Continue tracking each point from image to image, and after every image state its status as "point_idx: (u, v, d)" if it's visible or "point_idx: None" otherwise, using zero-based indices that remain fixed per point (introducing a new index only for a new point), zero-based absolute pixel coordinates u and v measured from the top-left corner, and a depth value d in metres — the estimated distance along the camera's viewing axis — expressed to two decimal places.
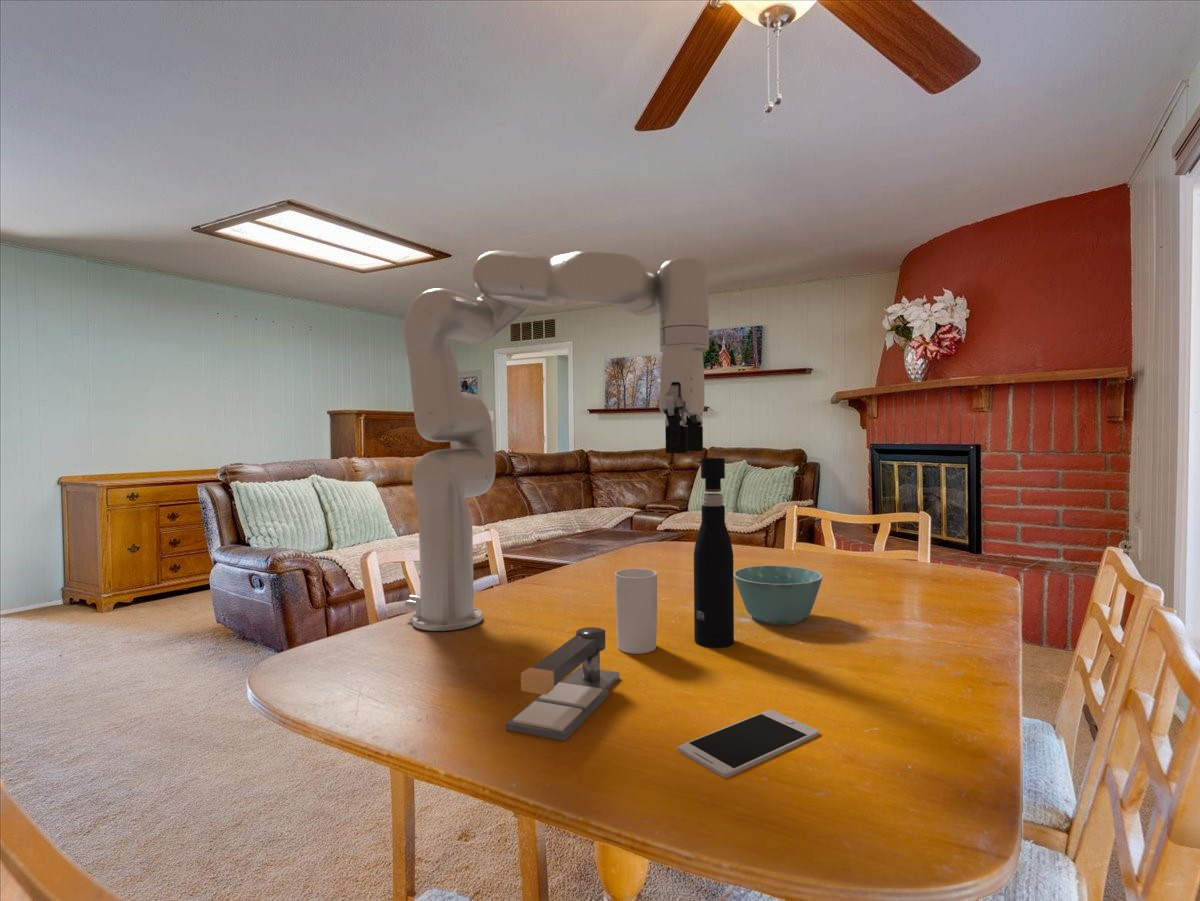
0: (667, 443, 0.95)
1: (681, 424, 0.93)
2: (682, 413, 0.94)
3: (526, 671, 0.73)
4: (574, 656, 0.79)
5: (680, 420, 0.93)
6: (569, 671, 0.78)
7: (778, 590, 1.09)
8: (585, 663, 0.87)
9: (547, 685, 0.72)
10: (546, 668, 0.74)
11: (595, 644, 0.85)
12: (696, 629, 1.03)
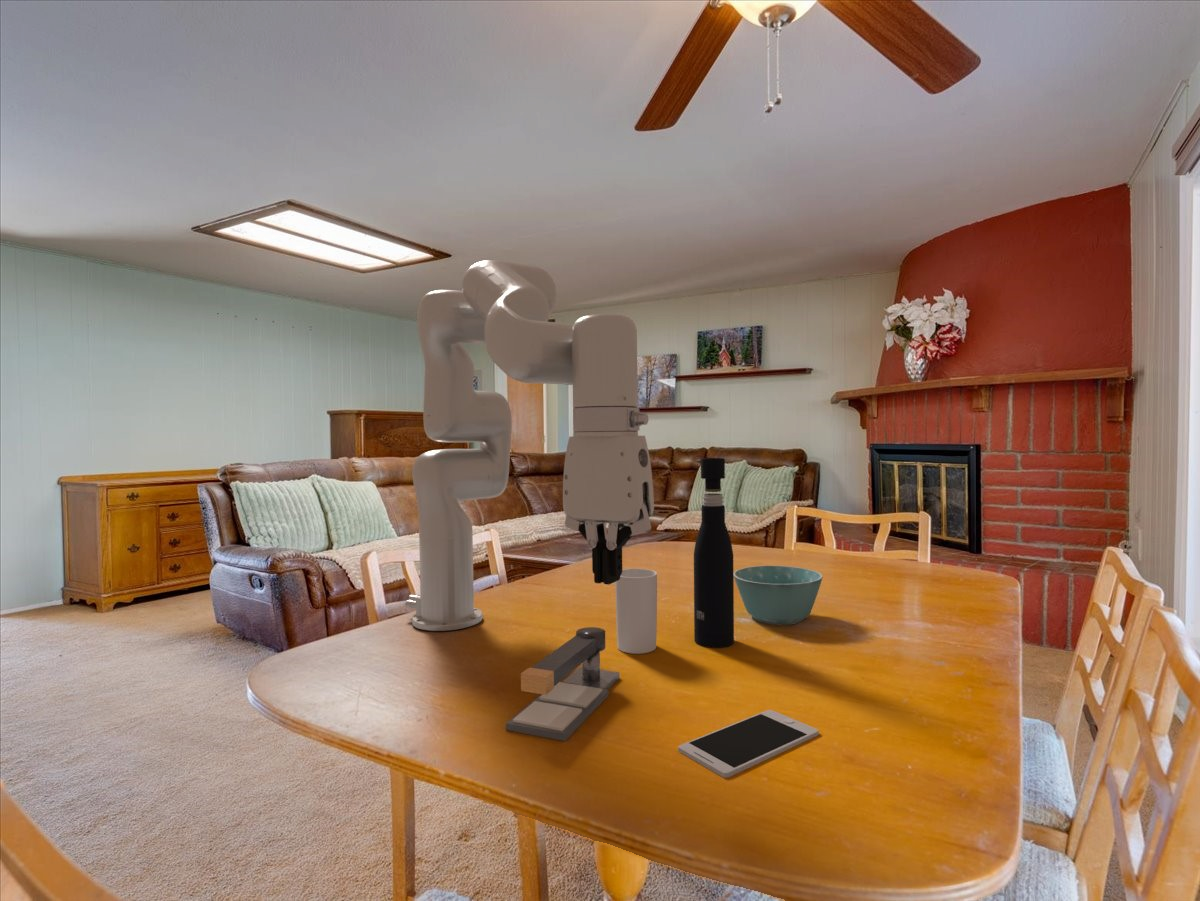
0: None
1: (592, 547, 0.74)
2: None
3: (526, 671, 0.73)
4: (574, 656, 0.79)
5: (589, 540, 0.74)
6: (569, 671, 0.78)
7: (778, 590, 1.09)
8: (585, 663, 0.87)
9: (547, 685, 0.72)
10: (546, 668, 0.74)
11: (595, 644, 0.85)
12: (696, 629, 1.03)
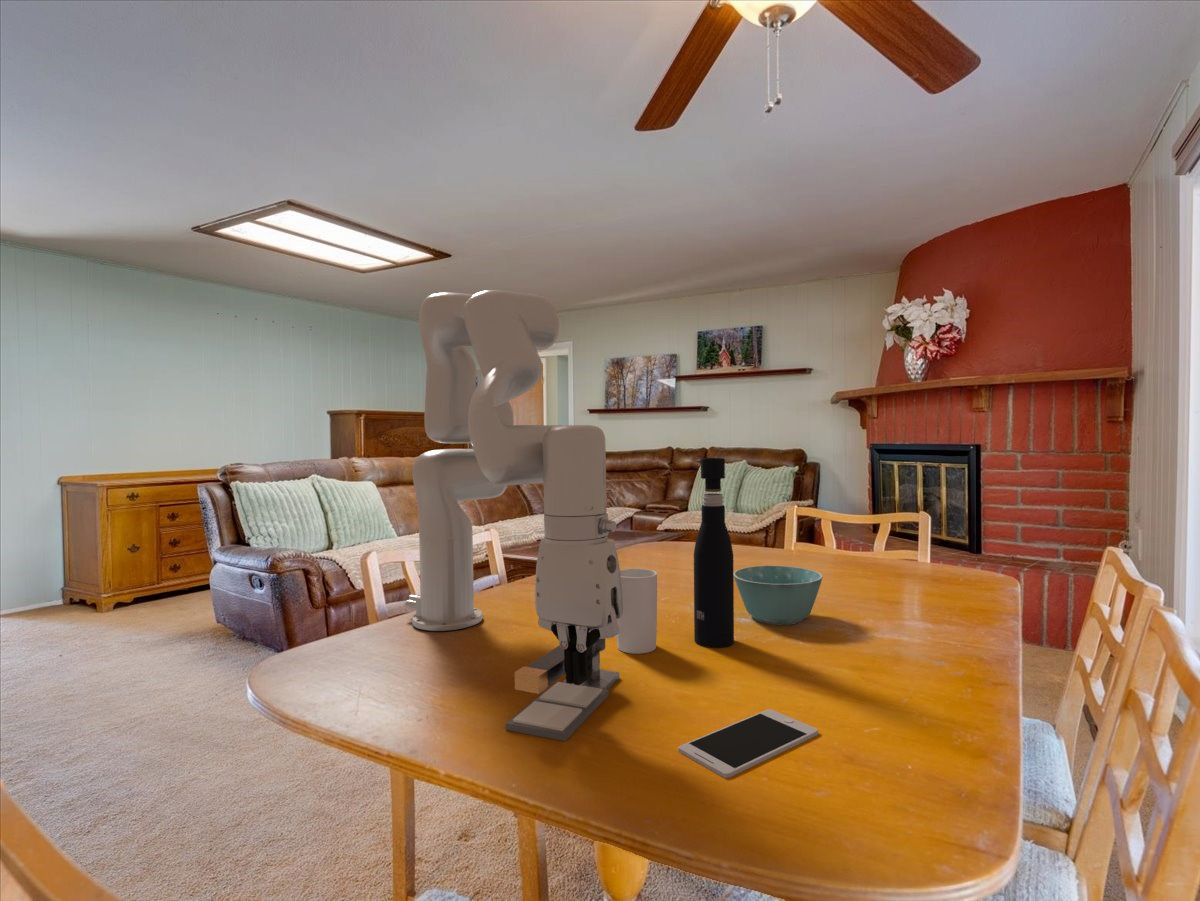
0: None
1: (564, 648, 0.76)
2: None
3: (520, 670, 0.74)
4: None
5: (561, 641, 0.76)
6: None
7: (778, 590, 1.09)
8: None
9: (540, 684, 0.72)
10: (540, 667, 0.75)
11: None
12: (696, 629, 1.03)
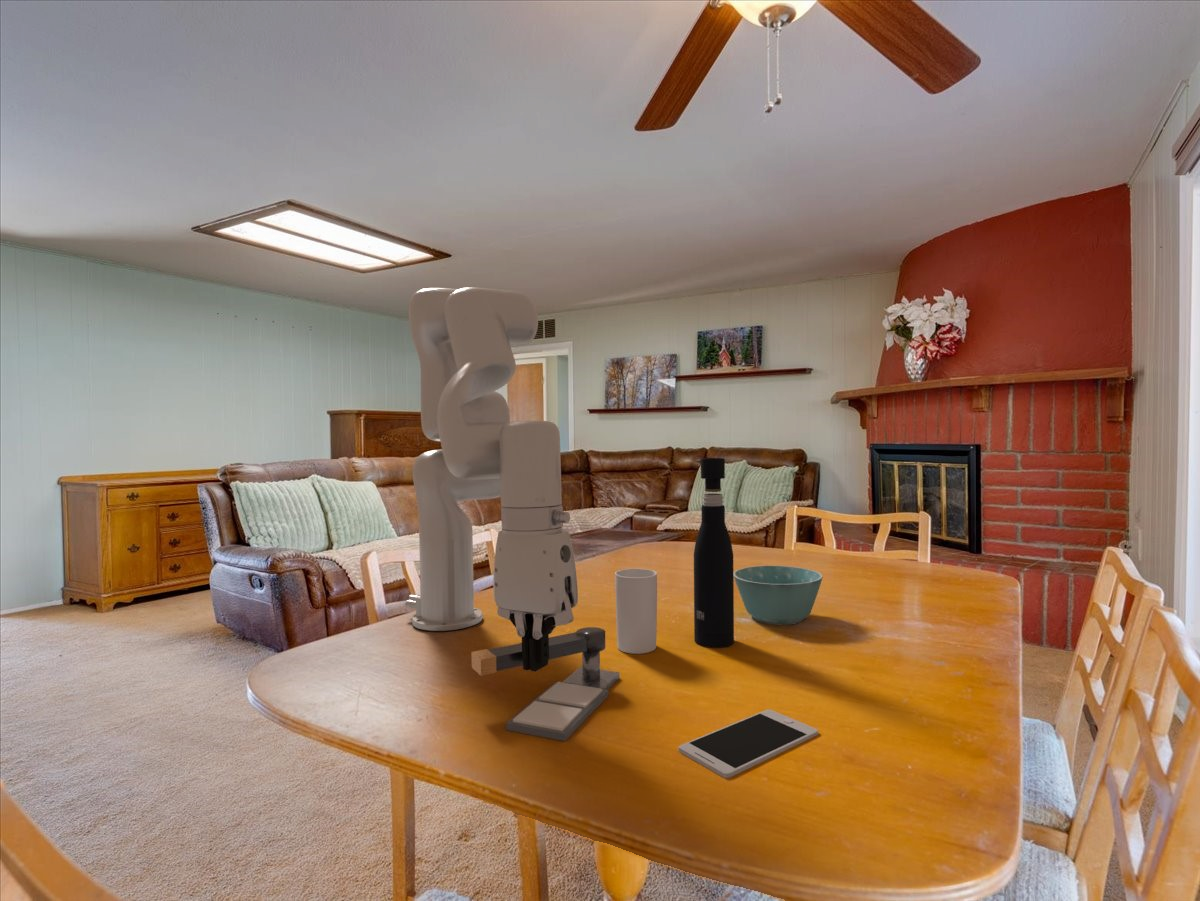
0: None
1: (522, 636, 0.79)
2: None
3: (478, 651, 0.80)
4: None
5: None
6: None
7: (778, 590, 1.09)
8: (585, 663, 0.87)
9: (483, 667, 0.78)
10: (496, 653, 0.80)
11: (584, 644, 0.85)
12: (696, 629, 1.03)
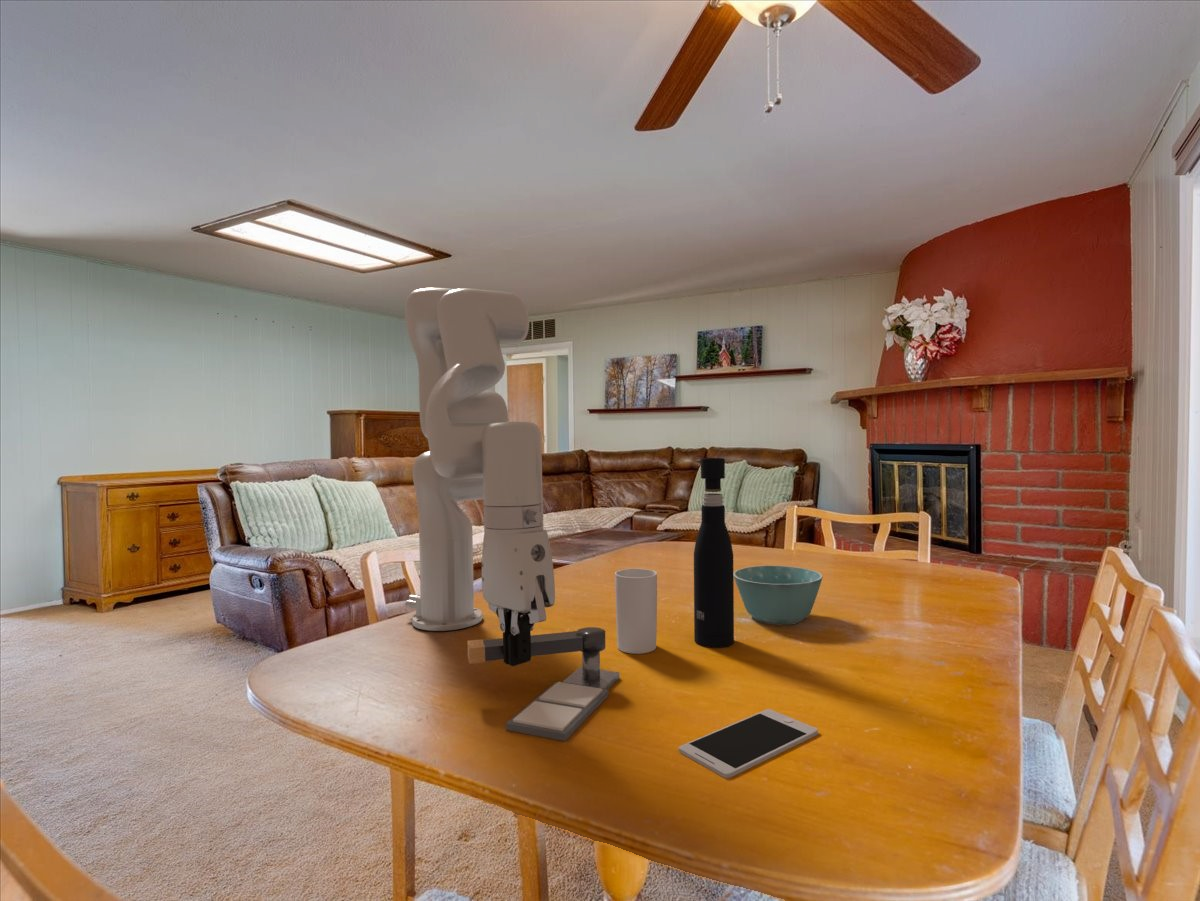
0: None
1: (504, 630, 0.81)
2: None
3: (473, 640, 0.84)
4: None
5: (502, 623, 0.82)
6: None
7: (778, 590, 1.09)
8: (585, 663, 0.87)
9: (471, 655, 0.82)
10: (488, 644, 0.83)
11: (579, 643, 0.85)
12: (696, 629, 1.03)
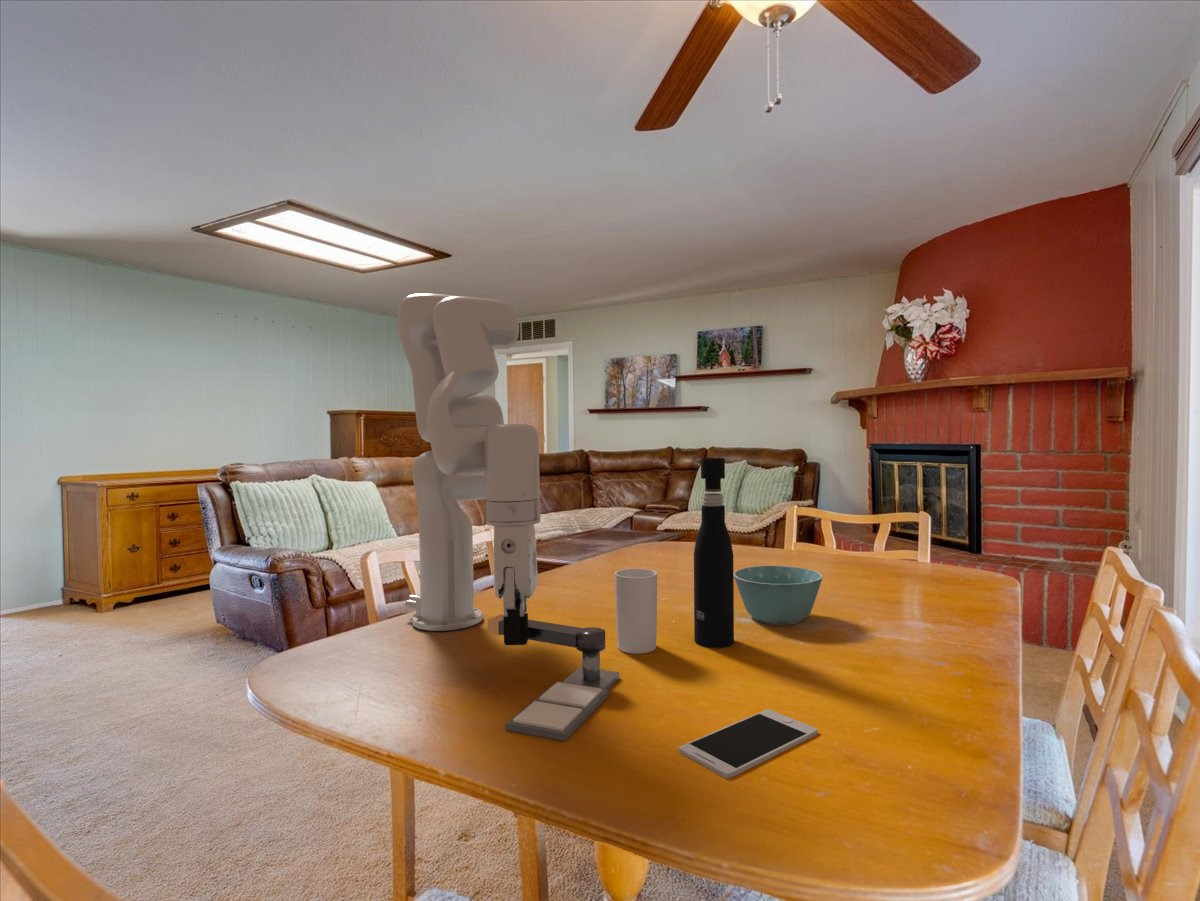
0: None
1: None
2: None
3: (503, 615, 0.96)
4: (532, 629, 0.90)
5: None
6: None
7: (778, 590, 1.09)
8: (585, 663, 0.87)
9: (489, 627, 0.94)
10: None
11: (573, 639, 0.87)
12: (696, 629, 1.03)
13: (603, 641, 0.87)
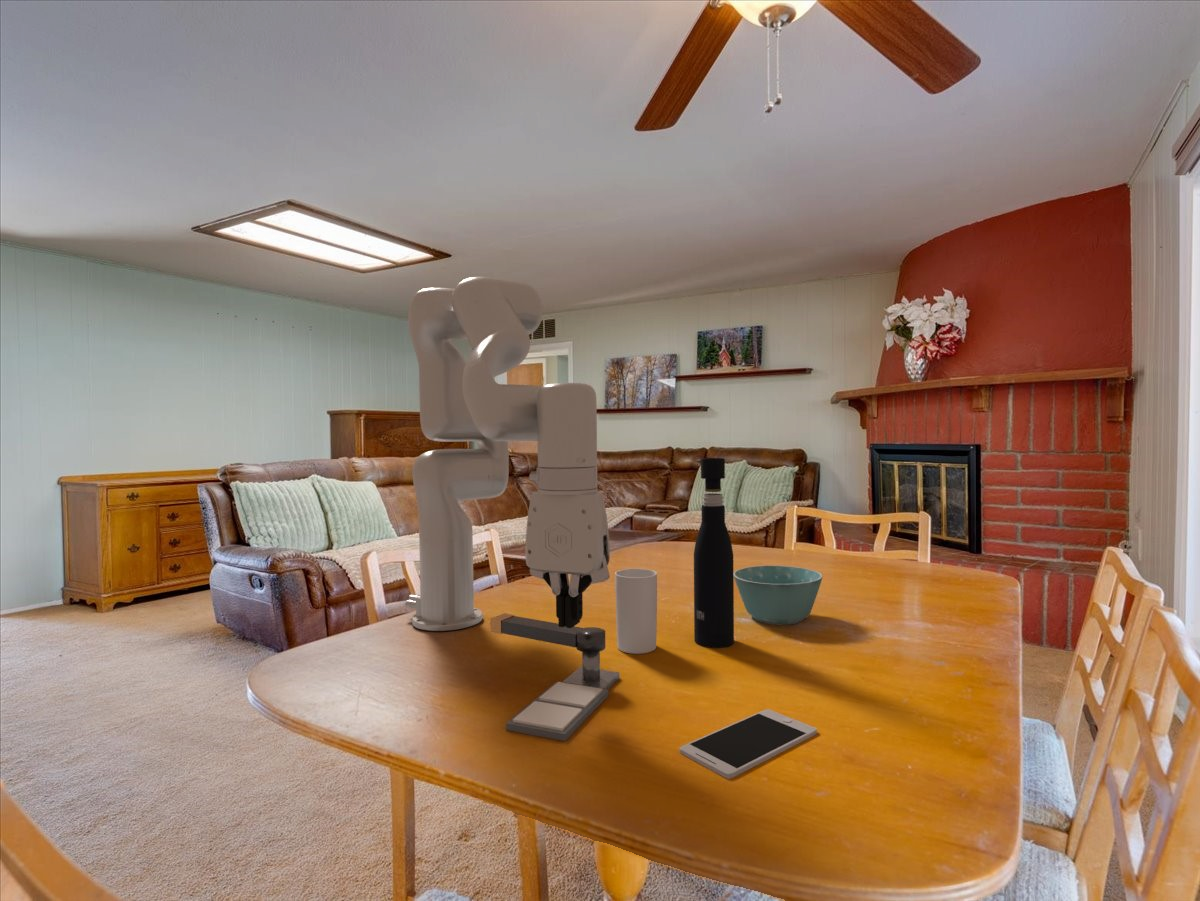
0: (570, 616, 0.80)
1: (581, 592, 0.82)
2: None
3: (506, 614, 0.97)
4: (533, 628, 0.91)
5: None
6: (525, 636, 0.91)
7: (778, 590, 1.09)
8: (585, 663, 0.87)
9: (492, 625, 0.94)
10: (509, 619, 0.94)
11: (573, 639, 0.87)
12: (696, 629, 1.03)
13: (603, 641, 0.86)
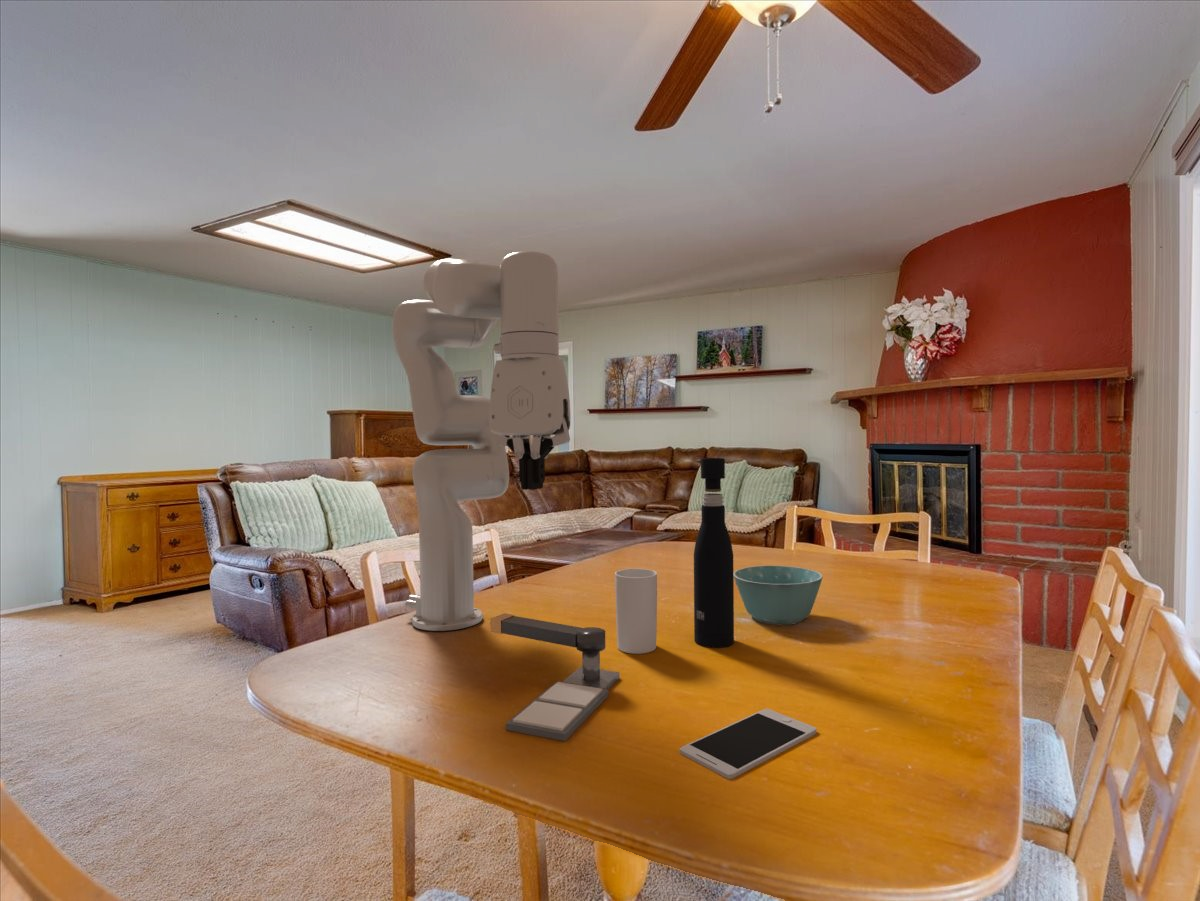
0: (532, 478, 0.83)
1: None
2: None
3: (506, 614, 0.97)
4: (533, 628, 0.91)
5: None
6: (525, 636, 0.91)
7: (778, 590, 1.09)
8: (585, 663, 0.87)
9: (492, 625, 0.94)
10: (509, 619, 0.94)
11: (573, 639, 0.87)
12: (696, 629, 1.03)
13: (603, 641, 0.86)
